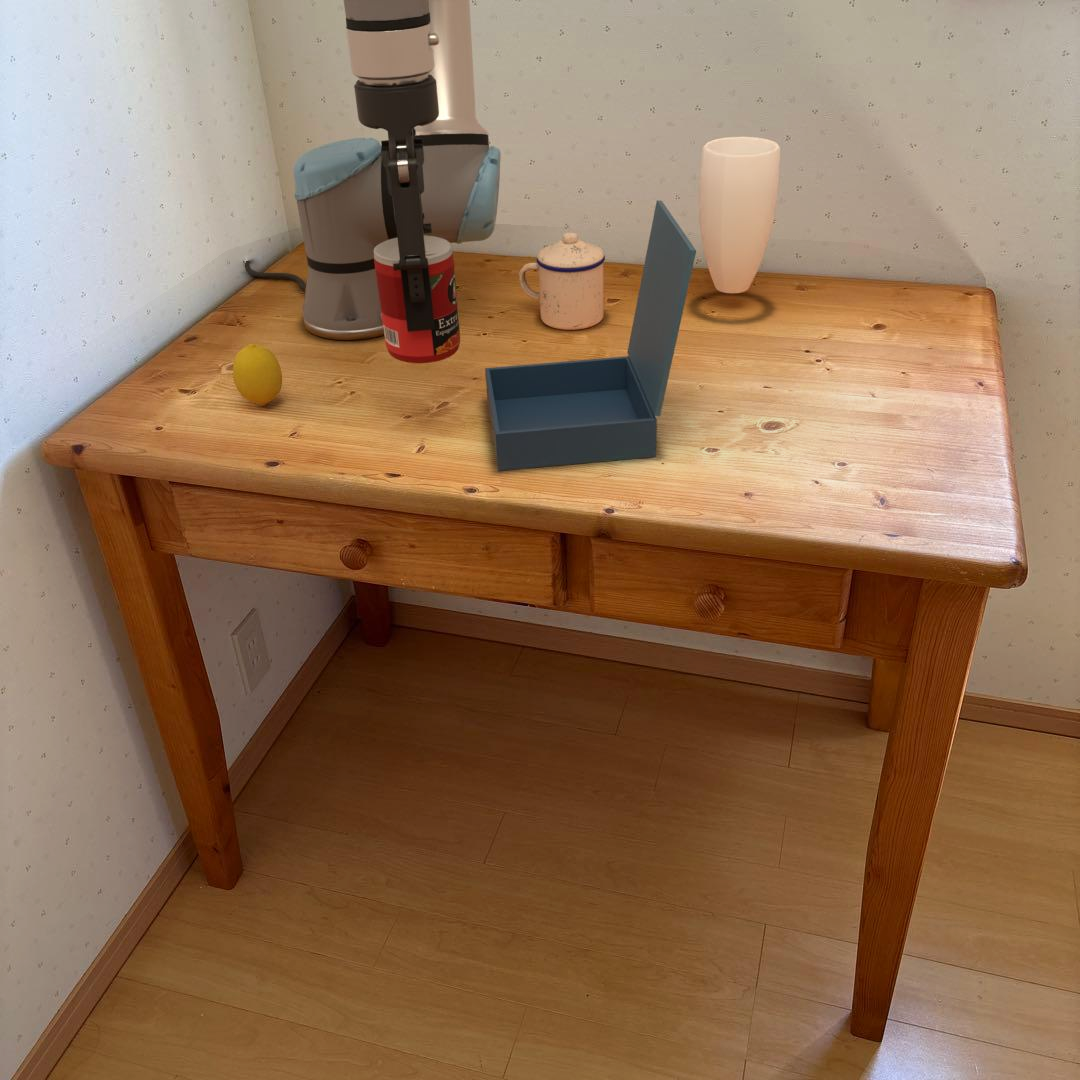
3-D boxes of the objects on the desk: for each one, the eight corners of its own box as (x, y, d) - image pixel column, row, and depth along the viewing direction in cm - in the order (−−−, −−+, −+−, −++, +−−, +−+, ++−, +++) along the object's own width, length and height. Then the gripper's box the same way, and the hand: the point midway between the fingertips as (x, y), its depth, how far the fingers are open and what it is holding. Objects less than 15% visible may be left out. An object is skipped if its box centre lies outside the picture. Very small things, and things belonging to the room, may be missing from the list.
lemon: (247, 420, 123) (233, 357, 118) (235, 402, 127) (221, 340, 122) (293, 409, 125) (280, 346, 120) (280, 391, 129) (268, 330, 124)
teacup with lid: (613, 308, 146) (613, 225, 139) (594, 334, 139) (593, 248, 132) (532, 301, 150) (528, 219, 143) (509, 325, 143) (504, 241, 136)
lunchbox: (498, 471, 111) (495, 433, 108) (487, 402, 124) (484, 368, 122) (656, 456, 112) (657, 419, 110) (629, 390, 125) (629, 355, 123)
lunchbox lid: (690, 249, 100) (696, 250, 100) (656, 200, 113) (662, 200, 113) (654, 416, 109) (659, 416, 109) (627, 352, 122) (632, 353, 123)
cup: (780, 301, 146) (795, 140, 134) (750, 327, 139) (764, 160, 127) (711, 288, 151) (720, 132, 139) (679, 313, 144) (685, 151, 131)
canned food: (450, 366, 107) (440, 261, 101) (376, 362, 108) (361, 259, 102) (469, 336, 113) (461, 235, 107) (399, 333, 115) (386, 233, 108)
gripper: (439, 97, 87) (461, 350, 100) (432, 53, 104) (452, 275, 117) (348, 103, 87) (382, 357, 100) (356, 58, 104) (385, 280, 117)
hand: (420, 312), depth 108 cm, fingers closed on canned food, 8 cm apart
